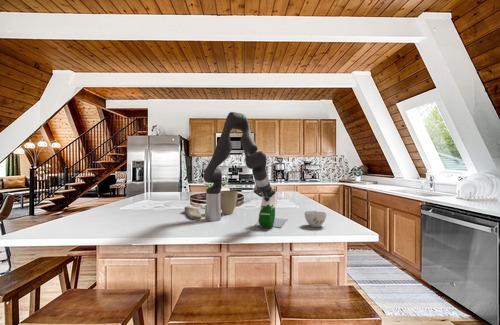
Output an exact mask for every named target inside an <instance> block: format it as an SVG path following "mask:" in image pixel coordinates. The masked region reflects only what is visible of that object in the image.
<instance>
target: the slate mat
mask: <svg viewBox="0 0 500 325" xmlns="http://www.w3.org/2000/svg"><path fill="white" fill-rule="evenodd" d="M286 222H288V219H287V218H276V217H275V219H274V224H273V228H276V229H277V228H278V229H279V228H280V229H281V228H282V227H283V226H284V225H285V223H286ZM254 226H255V227H261V226H260V224H259V222H258V221H257V222H256V223H255V224H254Z"/></svg>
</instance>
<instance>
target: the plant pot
mask: <svg viewBox="0 0 500 325" xmlns="http://www.w3.org/2000/svg"><path fill="white" fill-rule="evenodd" d="M238 194H239V191H237V190H221V213H222V214H223V215H232V214H234V210H235V208H236V206H237V201H238Z"/></svg>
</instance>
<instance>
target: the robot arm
mask: <svg viewBox="0 0 500 325" xmlns="http://www.w3.org/2000/svg"><path fill="white" fill-rule="evenodd" d="M232 130H237V131H239V130H240V131H241V133H242V135H241V138H240V145H241V147H242V150H243V152H244V158H245V165H246V167H247V168H248V169H249V170H252V172H251V173H252V175H253V180H254V184H255V187H256V188H255V187H254V188H253V193H254V194H256V195H257V196H259V197H260V198H262V197H264V200H266V201H269V199H270V197H272V196H273V195H274V194H275V195H276V191H277V188H274V189H273V187H272V186H271V183H270V179H269V175H268V174H267V163H268V162H267V161H268V160H267V158H268V157H267V155H266V153H265V152H264V151H263V150H259V149H258V146H257V144H256V142H255V140H254V138H253V136H252V131H251V128H250V124H249V120H248V118H247V116H246V115H245V114H243V113H241V112H236V111H230V112H229V113H228V114H227V116H226V118H225V121H224V125H223V128H222V132H221V135H220V137H219V139H218V141H217V143H216V146H215V148H214V152H213V154H212V156H211V157H210V160H209V162H208V164H207V166H206V168H205V170H204V172H203V181H204V182H205V183H207V184H212V185H211V186H210V187H207V188H206V190H205V191H206V192H205V195H206V196H205V198H206V199H205V200H206V202H205V205H204V220H205V221H209V222H215V221H217V222H218V221H220V220H221V219H222V217H221V215H222V214H221V213H222V210H221V191H222V181H223V173H222V170H221V169H220V168H219V166H220V165H221V164H222V163H224V162H225V161H226V160H228V158H229V156H230V154H231V151H232V149H233V145H232V141H231V135H230V134H231V131H232ZM269 193H270V194H269Z"/></svg>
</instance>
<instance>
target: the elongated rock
mask: <svg viewBox="0 0 500 325" xmlns="http://www.w3.org/2000/svg"><path fill="white" fill-rule="evenodd" d="M183 209H184V212H185V214H186V215H187V216H188V218H190V220H193V221H200V220H201V219H202V214H201V213H200V212H201V211H200V210H199V209H198V208H196V207H190V206H184V207H183Z"/></svg>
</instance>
